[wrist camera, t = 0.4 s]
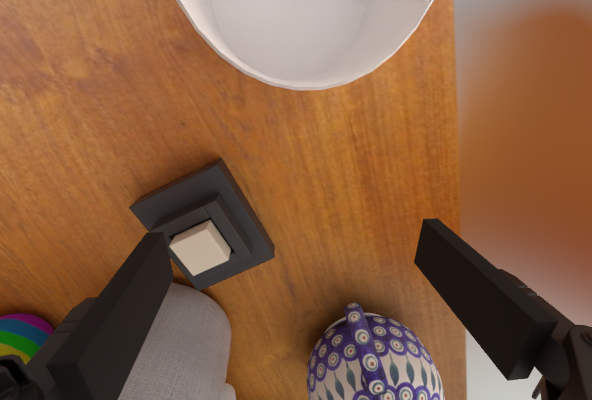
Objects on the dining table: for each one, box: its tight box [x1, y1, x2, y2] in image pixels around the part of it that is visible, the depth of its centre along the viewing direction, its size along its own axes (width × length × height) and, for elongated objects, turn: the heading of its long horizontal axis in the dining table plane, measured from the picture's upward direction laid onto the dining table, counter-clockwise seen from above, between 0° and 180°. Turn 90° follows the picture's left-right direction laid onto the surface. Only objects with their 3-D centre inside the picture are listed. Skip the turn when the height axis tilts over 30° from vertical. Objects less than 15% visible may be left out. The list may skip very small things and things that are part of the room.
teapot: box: [307, 302, 445, 400], centre depth 31 cm, size 25×15×15 cm, turn 12°
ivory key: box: [169, 220, 231, 276], centre depth 24 cm, size 4×4×2 cm
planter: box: [118, 282, 231, 400], centre depth 26 cm, size 16×16×16 cm
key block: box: [129, 158, 275, 291], centre depth 26 cm, size 11×9×4 cm
